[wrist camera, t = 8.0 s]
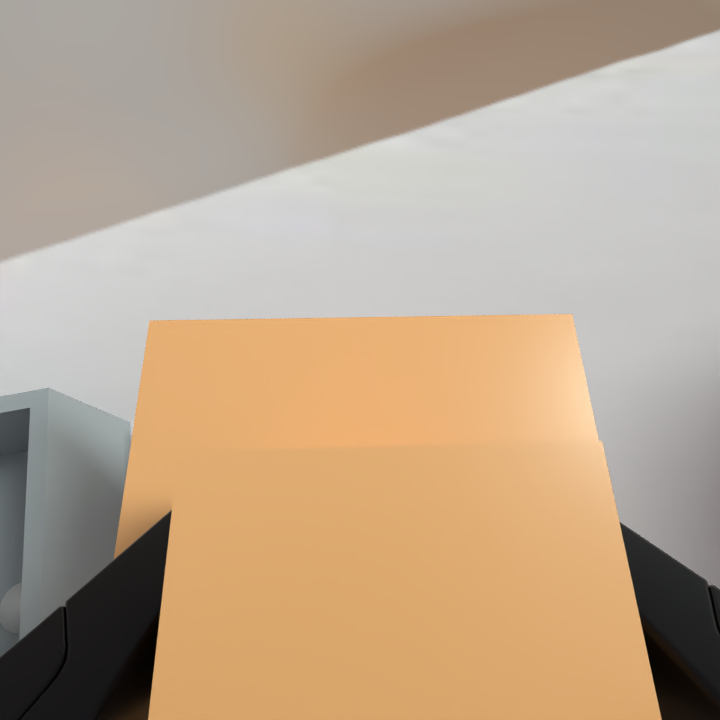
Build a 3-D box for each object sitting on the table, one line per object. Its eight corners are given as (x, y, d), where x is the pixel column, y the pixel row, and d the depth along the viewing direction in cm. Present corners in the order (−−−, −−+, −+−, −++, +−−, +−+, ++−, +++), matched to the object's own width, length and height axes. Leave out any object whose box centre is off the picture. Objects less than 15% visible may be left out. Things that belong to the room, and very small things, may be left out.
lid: (618, 798, 10) (1636, 1862, 2) (124, 819, 9) (-878, 2151, 2) (538, 345, 13) (790, 111, 6) (181, 351, 13) (-60, 114, 5)
